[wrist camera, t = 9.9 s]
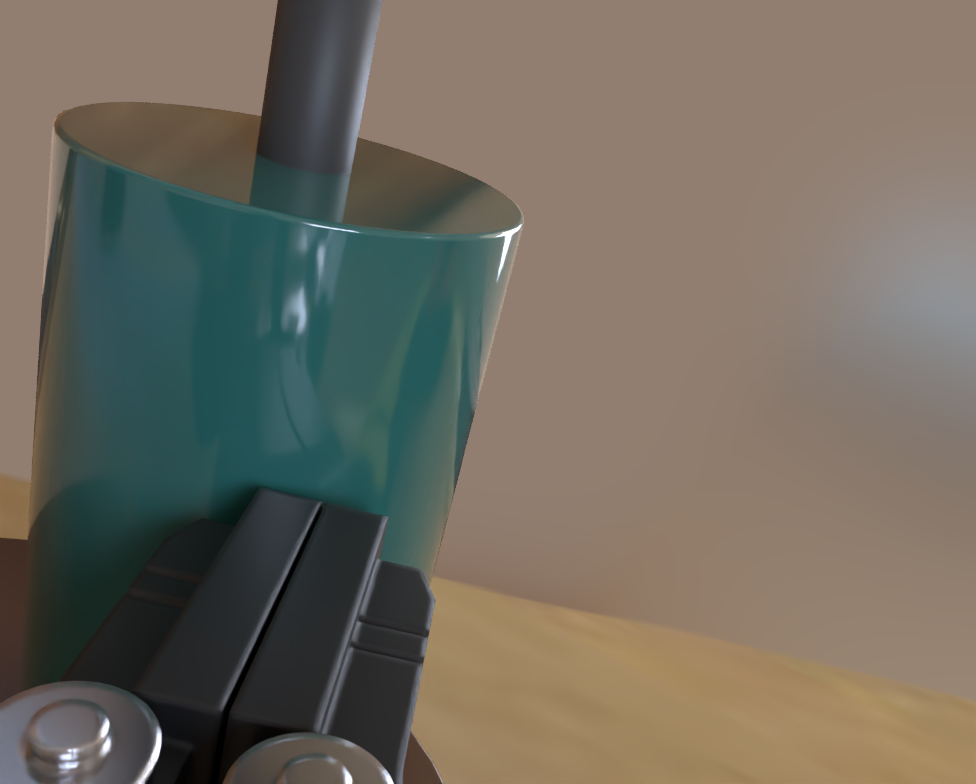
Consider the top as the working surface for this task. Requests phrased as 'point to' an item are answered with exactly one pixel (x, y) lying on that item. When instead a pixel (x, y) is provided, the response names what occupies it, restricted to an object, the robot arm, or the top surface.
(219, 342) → the teal post stand
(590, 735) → the top surface
